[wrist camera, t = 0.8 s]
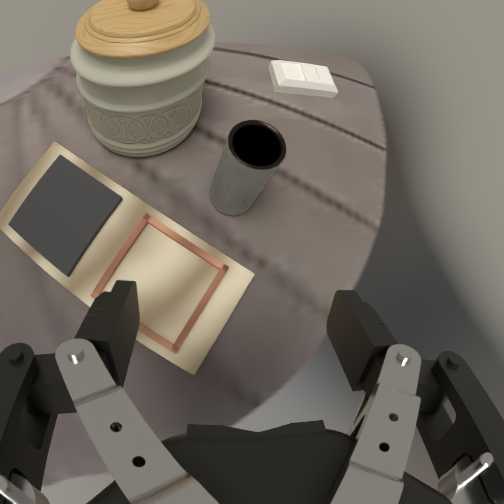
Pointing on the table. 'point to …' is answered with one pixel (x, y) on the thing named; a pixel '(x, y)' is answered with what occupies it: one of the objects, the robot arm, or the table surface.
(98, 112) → the jar
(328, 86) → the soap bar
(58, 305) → the table surface
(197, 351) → the board
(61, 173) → the pad
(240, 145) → the grey tumbler
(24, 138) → the table surface
